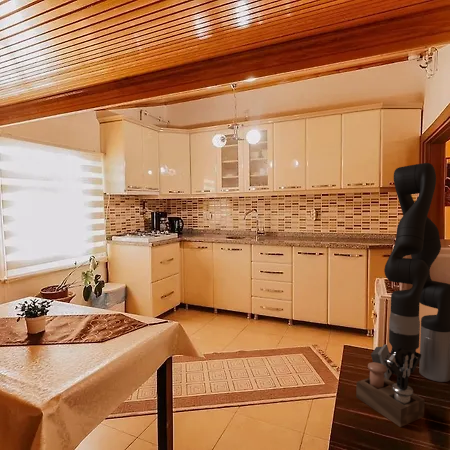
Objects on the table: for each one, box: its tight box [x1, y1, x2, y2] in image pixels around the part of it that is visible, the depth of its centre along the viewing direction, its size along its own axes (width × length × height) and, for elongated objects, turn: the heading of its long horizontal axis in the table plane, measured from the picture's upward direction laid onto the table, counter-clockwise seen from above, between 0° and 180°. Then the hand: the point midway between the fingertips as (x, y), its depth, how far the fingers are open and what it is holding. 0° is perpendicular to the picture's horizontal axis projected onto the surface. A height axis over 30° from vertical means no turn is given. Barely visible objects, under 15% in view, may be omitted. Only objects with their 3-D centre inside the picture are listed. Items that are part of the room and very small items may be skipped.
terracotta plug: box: [367, 361, 387, 389], centre depth 100 cm, size 5×5×8 cm
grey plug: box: [392, 382, 414, 405], centre depth 92 cm, size 5×5×8 cm
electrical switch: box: [370, 343, 393, 380], centre depth 115 cm, size 9×5×9 cm, turn 141°
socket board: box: [355, 377, 426, 428], centre depth 96 cm, size 10×15×5 cm, turn 25°
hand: (402, 388), depth 92 cm, fingers closed
